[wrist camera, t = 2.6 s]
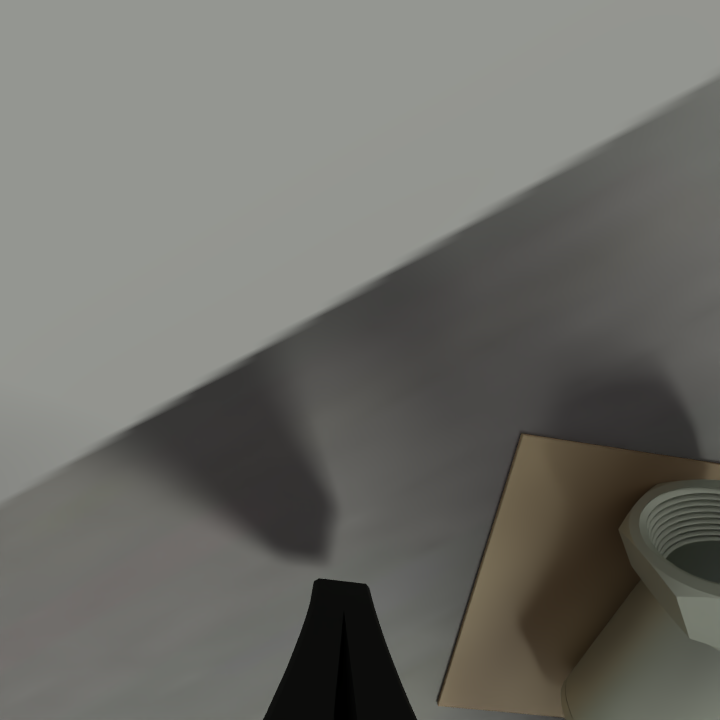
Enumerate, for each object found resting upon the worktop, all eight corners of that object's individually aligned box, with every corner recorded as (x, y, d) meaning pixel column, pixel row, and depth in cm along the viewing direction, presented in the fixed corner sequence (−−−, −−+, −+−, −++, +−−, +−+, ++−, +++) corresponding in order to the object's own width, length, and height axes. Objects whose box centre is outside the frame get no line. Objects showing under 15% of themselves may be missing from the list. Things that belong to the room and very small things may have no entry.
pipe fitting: (563, 707, 13) (770, 656, 12) (638, 892, 9) (950, 843, 8) (483, 538, 11) (721, 457, 10) (536, 686, 7) (927, 582, 6)
